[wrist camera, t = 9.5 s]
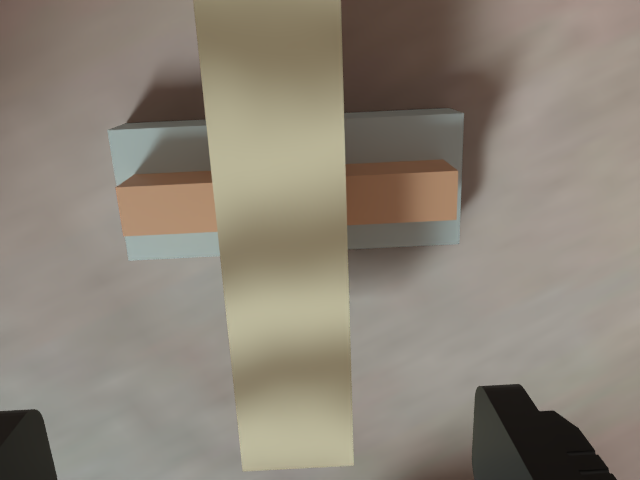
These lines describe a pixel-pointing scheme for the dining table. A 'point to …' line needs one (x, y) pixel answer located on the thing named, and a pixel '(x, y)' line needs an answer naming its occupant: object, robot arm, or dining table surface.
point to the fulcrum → (361, 183)
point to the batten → (281, 223)
